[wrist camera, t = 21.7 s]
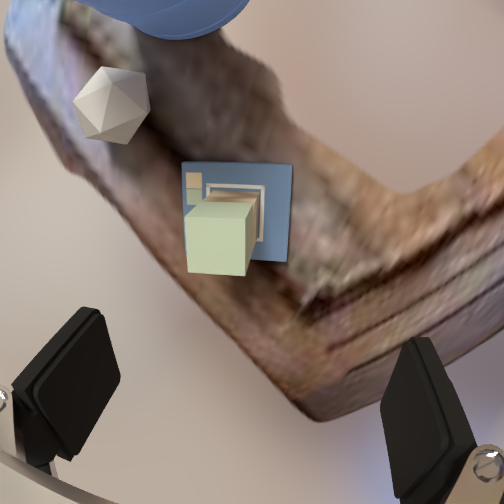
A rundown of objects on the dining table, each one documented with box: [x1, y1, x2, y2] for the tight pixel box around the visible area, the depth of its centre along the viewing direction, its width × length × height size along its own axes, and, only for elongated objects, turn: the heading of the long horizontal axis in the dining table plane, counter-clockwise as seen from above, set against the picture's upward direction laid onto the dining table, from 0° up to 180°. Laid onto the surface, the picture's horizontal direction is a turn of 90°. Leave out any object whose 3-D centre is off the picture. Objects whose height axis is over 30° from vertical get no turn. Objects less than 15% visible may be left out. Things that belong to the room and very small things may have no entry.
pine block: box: [202, 190, 259, 253], centre depth 34 cm, size 5×5×5 cm
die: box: [73, 67, 151, 145], centre depth 30 cm, size 8×9×10 cm
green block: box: [184, 202, 253, 276], centre depth 29 cm, size 5×5×5 cm
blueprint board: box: [182, 161, 292, 262], centre depth 36 cm, size 12×11×1 cm
